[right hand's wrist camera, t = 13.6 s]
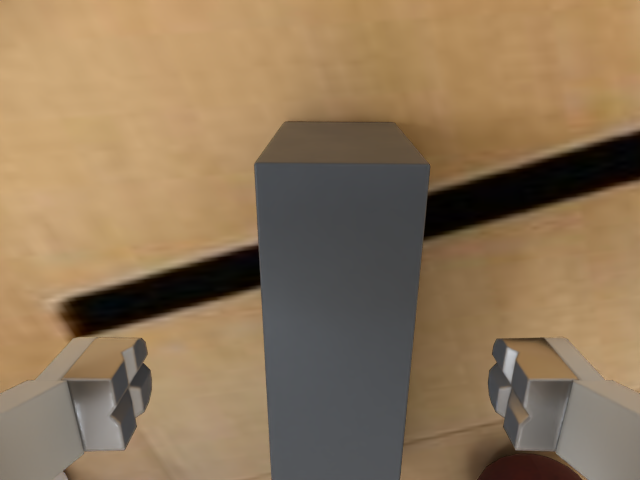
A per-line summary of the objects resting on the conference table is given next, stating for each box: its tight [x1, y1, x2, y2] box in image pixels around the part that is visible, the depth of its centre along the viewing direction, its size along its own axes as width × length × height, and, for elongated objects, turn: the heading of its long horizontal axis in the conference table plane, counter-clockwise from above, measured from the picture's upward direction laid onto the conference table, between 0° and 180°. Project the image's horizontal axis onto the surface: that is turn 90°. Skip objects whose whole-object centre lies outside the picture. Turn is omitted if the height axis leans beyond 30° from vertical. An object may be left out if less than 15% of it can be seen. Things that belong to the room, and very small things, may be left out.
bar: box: [254, 122, 430, 480], centre depth 21 cm, size 23×5×8 cm, turn 0°
